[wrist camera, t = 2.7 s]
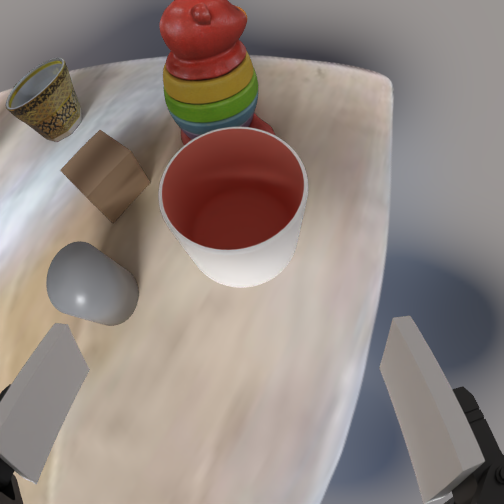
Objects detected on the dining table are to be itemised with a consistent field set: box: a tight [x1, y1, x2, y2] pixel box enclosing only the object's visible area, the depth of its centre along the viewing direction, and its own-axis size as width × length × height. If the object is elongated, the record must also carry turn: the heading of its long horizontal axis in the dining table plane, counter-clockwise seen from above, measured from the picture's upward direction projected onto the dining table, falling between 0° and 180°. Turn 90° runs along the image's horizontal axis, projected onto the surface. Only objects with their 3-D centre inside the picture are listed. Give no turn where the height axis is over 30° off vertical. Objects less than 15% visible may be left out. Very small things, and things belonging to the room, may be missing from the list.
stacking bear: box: [160, 0, 275, 145], centre depth 25 cm, size 11×10×18 cm
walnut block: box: [60, 130, 150, 223], centre depth 29 cm, size 6×6×6 cm
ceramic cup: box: [6, 58, 81, 142], centre depth 32 cm, size 13×10×10 cm
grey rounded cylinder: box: [47, 242, 139, 326], centre depth 25 cm, size 6×6×7 cm
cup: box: [159, 127, 308, 288], centre depth 24 cm, size 10×10×10 cm
